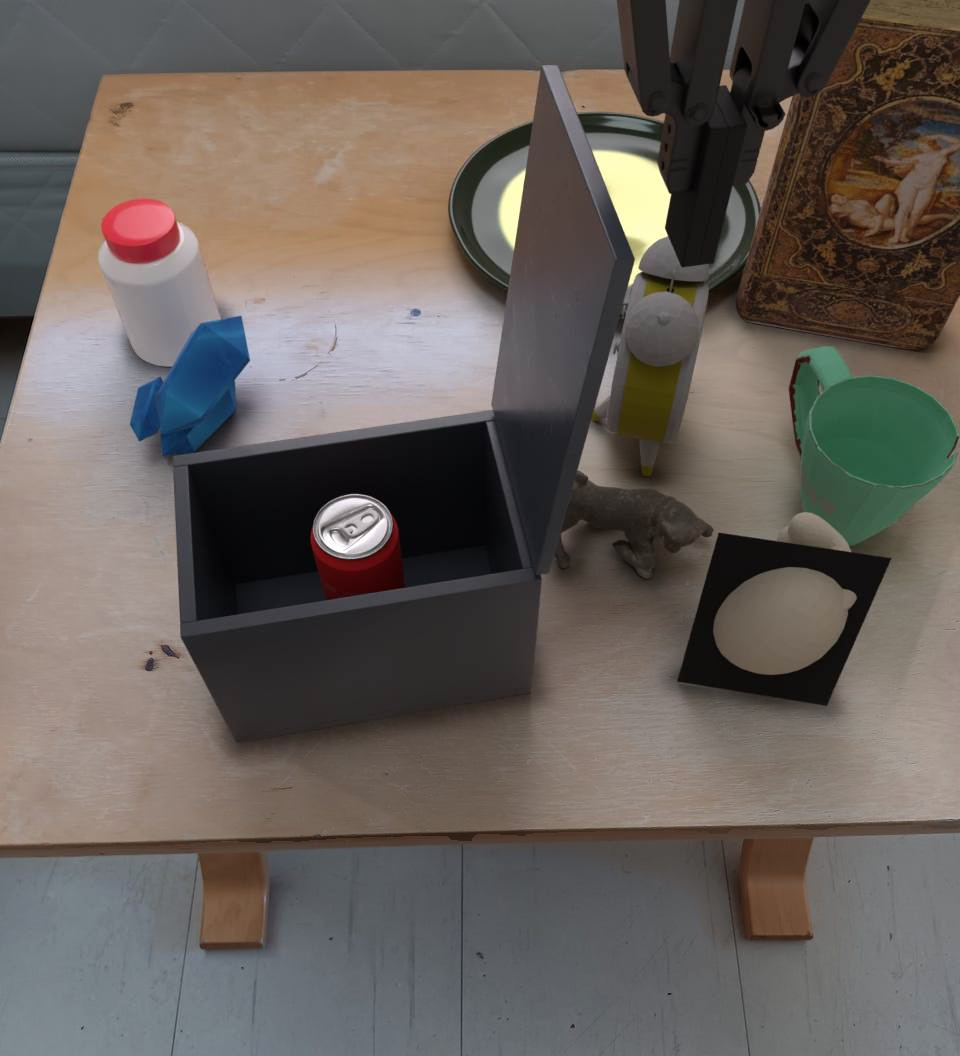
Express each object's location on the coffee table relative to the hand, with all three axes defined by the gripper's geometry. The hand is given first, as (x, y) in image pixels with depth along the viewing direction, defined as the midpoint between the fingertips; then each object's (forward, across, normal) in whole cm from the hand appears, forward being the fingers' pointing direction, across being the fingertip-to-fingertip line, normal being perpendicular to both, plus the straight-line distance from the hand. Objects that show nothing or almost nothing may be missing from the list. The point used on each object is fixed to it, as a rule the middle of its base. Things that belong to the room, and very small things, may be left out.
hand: (688, 245), depth 45 cm
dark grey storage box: (+30, -17, 0) cm, 34 cm away
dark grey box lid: (+5, -7, 0) cm, 8 cm away
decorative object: (+30, +9, -6) cm, 32 cm away
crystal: (+30, -28, +22) cm, 46 cm away
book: (+30, +26, +24) cm, 46 cm away
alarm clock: (+30, +6, +15) cm, 34 cm away
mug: (+30, +18, +6) cm, 35 cm away
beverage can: (+29, -17, 0) cm, 34 cm away
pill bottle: (+30, -30, +32) cm, 53 cm away
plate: (+30, +9, +39) cm, 50 cm away
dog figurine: (+30, +2, +4) cm, 30 cm away
